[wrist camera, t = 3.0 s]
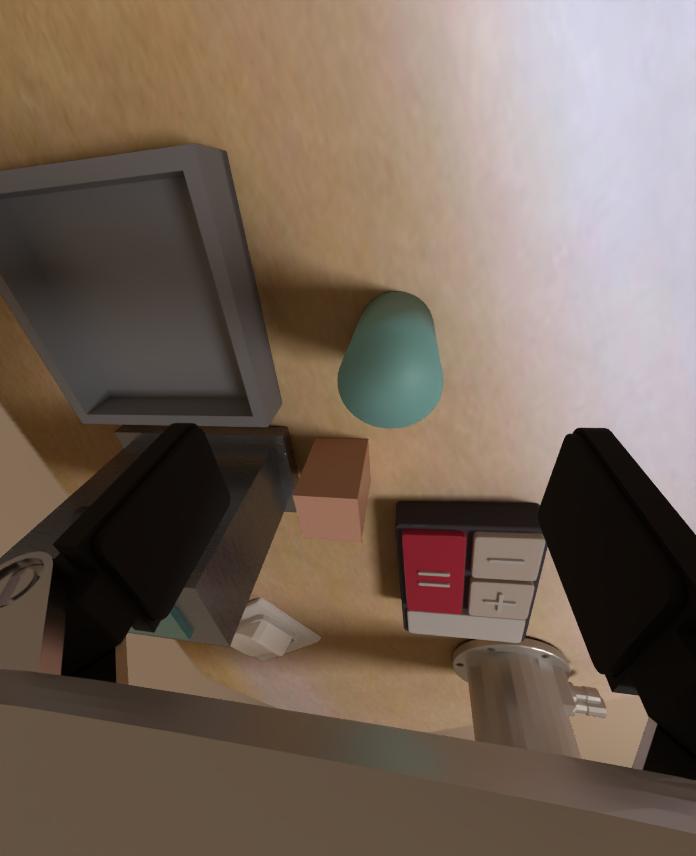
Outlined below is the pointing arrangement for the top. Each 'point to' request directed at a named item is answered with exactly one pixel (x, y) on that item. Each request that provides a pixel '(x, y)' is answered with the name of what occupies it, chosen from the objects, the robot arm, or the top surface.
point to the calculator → (469, 567)
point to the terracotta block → (334, 490)
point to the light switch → (269, 632)
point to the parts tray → (139, 287)
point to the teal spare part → (392, 363)
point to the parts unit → (233, 539)
